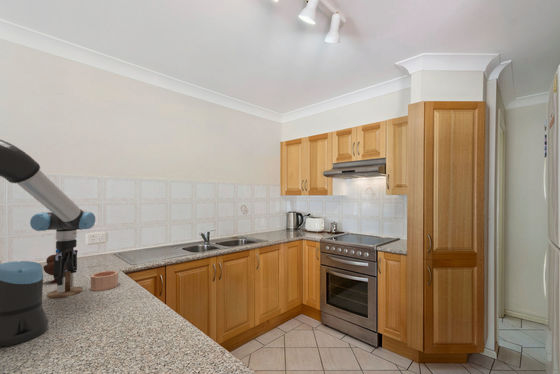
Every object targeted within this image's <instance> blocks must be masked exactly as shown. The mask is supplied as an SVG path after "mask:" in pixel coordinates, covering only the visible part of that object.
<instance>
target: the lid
mask: <svg viewBox="0 0 560 374" xmlns="http://www.w3.org/2000/svg"><path fill="white" fill-rule="evenodd" d="M64 277H65V292H57V289H55V290H52V291H50V292H48V293H47V294H46V297H47V298H46V299H50V300H51V299H52V300H55V299H64V298H70V297H69V296H72V297H74V296H75V295H78V294H80V293H82V292H83V290H84V289H83V287H81V286H73V287H70V285H71V271H65V273H64ZM73 295H74V296H73Z"/></svg>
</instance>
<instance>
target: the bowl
mask: <svg viewBox="0 0 560 374" xmlns="http://www.w3.org/2000/svg"><path fill="white" fill-rule="evenodd" d="M118 285H119V271H117V270H104V271H99V272H96V273H93V274H91V275H90V291H92V292H102V291H107V290H111V289H114V288H117V287H118Z"/></svg>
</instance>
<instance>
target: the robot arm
mask: <svg viewBox="0 0 560 374" xmlns="http://www.w3.org/2000/svg"><path fill="white" fill-rule="evenodd" d="M0 177H1V178H4V179H5V180H6V181H8V182H9V183H11V184H17V185H18V186H19V187H20V188H22V189H23V191H25V192H27V193H28V194H29V195H30V196H31V197H33V198H34V199H35V200H36V201H37V202H39V203H40V204H41V205H42V206H44V207H45V208H46V209H47V210H49V212H39V213H35V214H33V216H31V218H30V221H29V222H30V223H29V225H30V227H31V228H32V230H34V231H37V232H40V231H42V232H45V231H50V230H51V231H52V230H53V231H55V230H56V231H55V240H56V242H55V250H56V249H59V253H58V255H57V256H54V274H53V275H52V276H53V278H57V283H56V287H57V288H56V290H57V292H65V277H64V273H65V267H66V265H67V271H71V285H70V287H74V279H75V277H74V275H75V274H76V273H77V270H78V249H74V248H76V247H77V244H78V242H77V237H78V236H77V234H78V232H77V230H80V231H81V230H90V229H92V228H93V227H94V225H95V223H96V215H95V214H94V213H93V212H90V211H83V210H82V209H81V208H80V207H79V206H78V205H77V204H76V203H75V202H74V201H73V200H72V199H71V198H69V197H68V195H66V194H65V192H63V190H62V189H60V188H59V187H58V186H57V185H56V184H55V183H54V182H53V181H52V180H51V179H50V178H49V177H48V176H47V175H46V174H45V173H44V172H43V171H41V165H40V164H39V163H38V162H37V161H36V160H35V159H34V158H32V156H30V155H29V154H28V153H26V152H25V151H24V150H22V149H20V148H19V147H18V146H15V144H12V143H10V142H8V141H5V140H3V139H0ZM62 260H64V261H62ZM43 271H44V270H43V266H42V264H40V263H39V262H36V261H31V260H29V261H28V260H21V261H17V260H16V261H15V260H14V261H10V262H9V261H8V262H7V261H6V262H3V263H0V348H3V347H2V346H6V347H9V345H11V346H15V345H17V344H21V343H24V342H26V341H30V340H32V339H34V338H37V337H38V336H40V335H42V334H44V333H45V332H46V331H48V328H49V319H48V317H47V315H46V313H45V310H44V308H43V303H42V302H43V284H44V283H43V282H44V272H43ZM14 344H15V345H14Z"/></svg>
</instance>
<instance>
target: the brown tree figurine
mask: <svg viewBox="0 0 560 374" xmlns="http://www.w3.org/2000/svg"><path fill="white" fill-rule="evenodd" d="M54 256H57V255H56V254H51V255H49V256H47V258H46V260H45V261H46V262H45V263H46V264H45V265H43V266H42V269H43V271H44V273H46V274H47V275H48V276H53V274H54ZM62 261H64V260H62ZM66 270H67V265H66V267H65V271H66ZM49 284H57V278H54V279H52V280H51V281H50V282H49Z"/></svg>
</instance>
